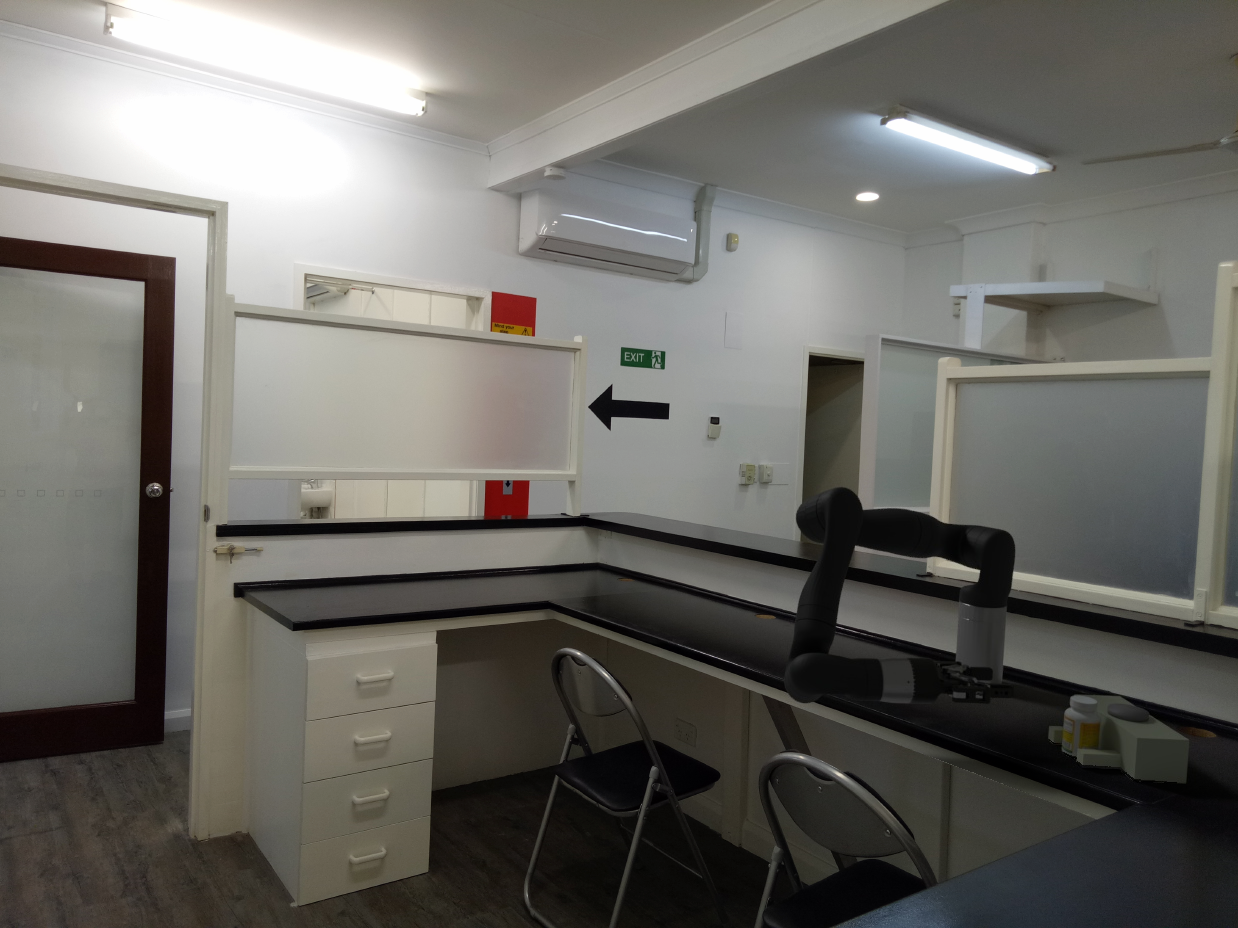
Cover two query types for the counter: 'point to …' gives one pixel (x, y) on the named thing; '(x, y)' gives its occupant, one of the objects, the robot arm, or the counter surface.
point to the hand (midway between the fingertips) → (1001, 681)
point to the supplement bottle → (1081, 725)
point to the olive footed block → (1133, 742)
